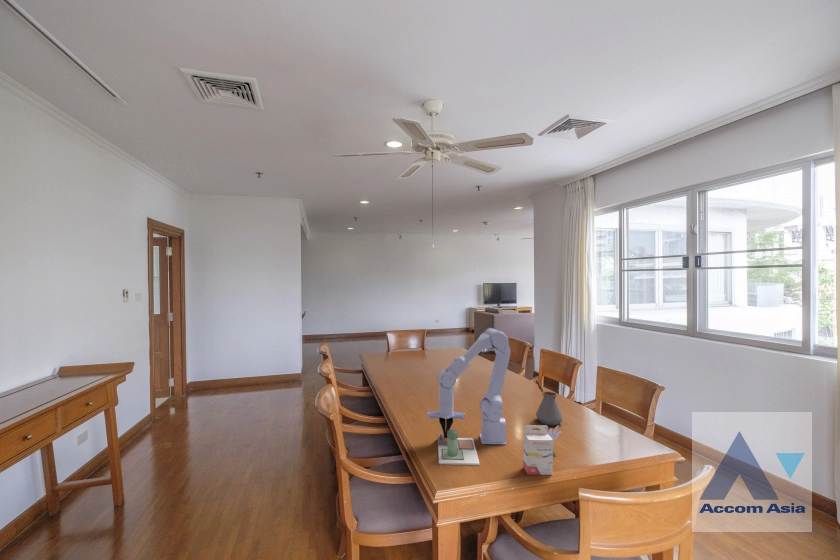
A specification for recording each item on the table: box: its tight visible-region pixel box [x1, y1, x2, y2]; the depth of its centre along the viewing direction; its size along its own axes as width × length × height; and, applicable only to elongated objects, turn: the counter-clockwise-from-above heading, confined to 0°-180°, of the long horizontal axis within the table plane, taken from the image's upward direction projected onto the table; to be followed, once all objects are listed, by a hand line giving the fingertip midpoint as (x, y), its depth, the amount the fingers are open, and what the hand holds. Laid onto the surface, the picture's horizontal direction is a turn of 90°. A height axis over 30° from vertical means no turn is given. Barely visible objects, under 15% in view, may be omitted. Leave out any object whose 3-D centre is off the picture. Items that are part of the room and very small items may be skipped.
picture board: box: [437, 433, 481, 466], centre depth 136 cm, size 14×20×2 cm
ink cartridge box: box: [522, 424, 554, 476], centre depth 122 cm, size 9×5×15 cm, turn 92°
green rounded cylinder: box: [447, 429, 459, 456], centre depth 132 cm, size 4×4×8 cm
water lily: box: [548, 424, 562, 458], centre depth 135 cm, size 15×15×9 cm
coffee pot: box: [534, 379, 564, 426], centre depth 170 cm, size 21×12×15 cm, turn 5°
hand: (445, 436), depth 142 cm, fingers closed, pressing on done button
